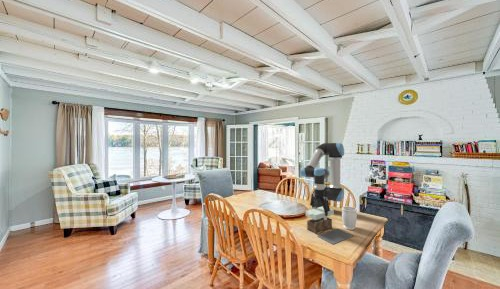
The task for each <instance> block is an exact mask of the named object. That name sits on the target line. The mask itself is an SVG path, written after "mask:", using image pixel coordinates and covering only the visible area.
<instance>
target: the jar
mask: <svg viewBox="0 0 500 289" xmlns="http://www.w3.org/2000/svg"><path fill="white" fill-rule="evenodd" d="M341 210H342V211H341V218H342V223H343V228H344V229H346V230H349V231H350V230H351V231H352V230H353V231H354V230H355V229H356V224H357V219H358V218H357V217H358V215H357V214H358V213H357V210H358V209H357V208H356V207H354V206H353V207H352V206H346V205H345V206H342V208H341Z"/></svg>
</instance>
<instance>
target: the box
mask: <svg viewBox="0 0 500 289" xmlns="http://www.w3.org/2000/svg"><path fill="white" fill-rule="evenodd" d="M306 222H307V223H306V230H307V231H309V232H311V233H313V234H315V235H317V234H319V233H322V232H325V231H327V230H330V229H332V228H333V219H332V218H330V217H329V216H327V220H324V218H321V219H318V220H314V219H312V218H310V219H309V220H308V219H307V220H306Z"/></svg>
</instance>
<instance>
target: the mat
mask: <svg viewBox="0 0 500 289" xmlns="http://www.w3.org/2000/svg"><path fill="white" fill-rule="evenodd" d="M316 236H317V238H320V239H321V240H323V241H325V242H327V243H329V244H331V245H336V244H338V243H341V242H342V241H345V240H347V239H350V238H352V237H354V235H353V234H350V233H349V232H347V231H345V230H341V229H339V228H335V229H333V230H330V231H328V232H325V233H322V234H319V235H316Z"/></svg>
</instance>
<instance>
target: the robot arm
mask: <svg viewBox="0 0 500 289" xmlns="http://www.w3.org/2000/svg"><path fill="white" fill-rule="evenodd" d="M344 155H345V148H344V145H343V144H342V143H341V142H324V143H321V144H319V145H317V147H315V149H314V151H313V154H312V156H311V157H310V160H309V161H308V162H307V165H306V166H305V167H301V168H300V176H302V177H303V178H304V177H305V178H313V181H314V182H313V183H314V184H313V185H314V186H313V193H312V194H311V198H310V203H309V206H311V208H312V209H315V208H318V207H322V206H323V208H324V220H327V217H329V216H328V211H330V209H331V208H330V204H329V201H332V202H338V203H340V202H342V201H343V199H344V197H345V196H344V195H345V190H344V189H343V186H342V185H341V159H342V158H343V157H344ZM324 156H328V158H329V159H330V168H329V169H327V168H322V167H321V168H320V167H317V166H318V164H319V162H320V161H321V159H322V158H323V157H324ZM329 170H330V171H329ZM329 176H330V178H329V180H330V181H329V182H330V183H329V185H328V186H327V185H326V183H325V182H326V181H325V180H326V179H327V178H328V177H329Z"/></svg>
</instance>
